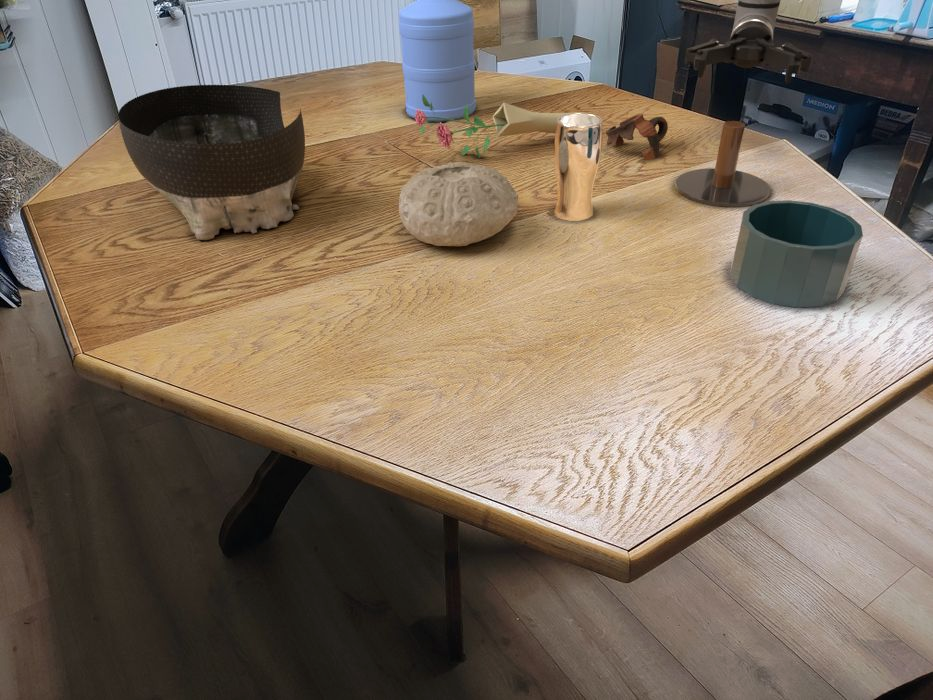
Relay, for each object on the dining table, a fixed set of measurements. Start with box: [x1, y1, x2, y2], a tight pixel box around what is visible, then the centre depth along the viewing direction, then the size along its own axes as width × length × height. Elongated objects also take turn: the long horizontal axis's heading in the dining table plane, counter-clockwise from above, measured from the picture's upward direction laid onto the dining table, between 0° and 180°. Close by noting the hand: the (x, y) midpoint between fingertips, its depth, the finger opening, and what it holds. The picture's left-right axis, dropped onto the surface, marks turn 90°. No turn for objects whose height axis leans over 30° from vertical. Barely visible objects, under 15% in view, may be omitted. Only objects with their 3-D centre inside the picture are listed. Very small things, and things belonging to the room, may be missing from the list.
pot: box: [729, 199, 864, 309], centre depth 87 cm, size 14×14×8 cm
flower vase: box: [415, 95, 585, 159], centre depth 129 cm, size 12×12×35 cm
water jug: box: [398, 0, 477, 123], centre depth 145 cm, size 16×16×28 cm
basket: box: [117, 84, 306, 241], centre depth 112 cm, size 28×35×16 cm
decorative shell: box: [398, 161, 519, 247], centre depth 101 cm, size 18×18×10 cm
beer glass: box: [553, 112, 603, 222], centre depth 103 cm, size 7×7×15 cm
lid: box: [674, 120, 771, 208], centre depth 110 cm, size 15×15×11 cm
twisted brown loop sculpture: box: [605, 113, 669, 161], centre depth 127 cm, size 12×10×8 cm
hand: (744, 71), depth 111 cm, fingers open, 13 cm apart
